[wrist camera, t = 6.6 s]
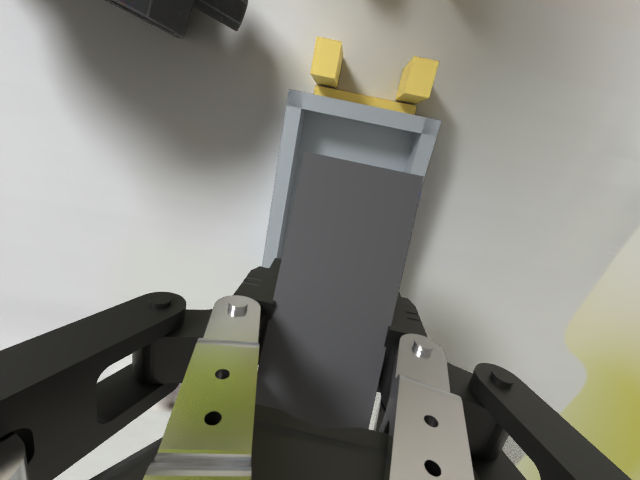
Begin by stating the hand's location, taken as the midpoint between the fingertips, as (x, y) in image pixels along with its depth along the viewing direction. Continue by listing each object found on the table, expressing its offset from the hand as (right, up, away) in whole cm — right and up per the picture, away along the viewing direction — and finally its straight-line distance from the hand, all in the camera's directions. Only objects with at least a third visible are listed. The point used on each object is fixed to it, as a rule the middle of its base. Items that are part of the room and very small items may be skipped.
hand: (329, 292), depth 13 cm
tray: (+1, +4, +13) cm, 14 cm away
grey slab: (0, -1, +2) cm, 2 cm away
